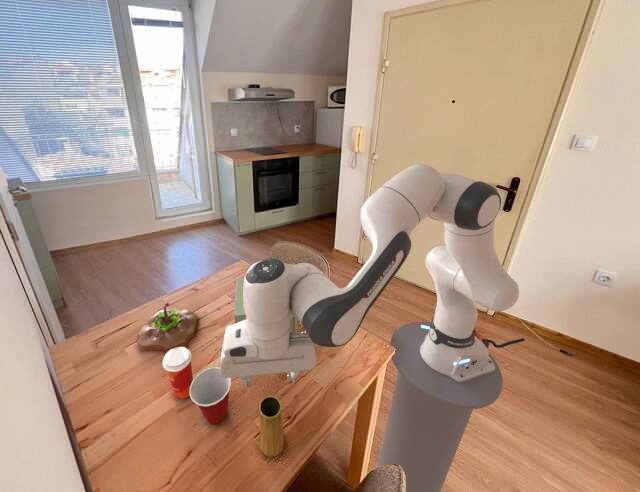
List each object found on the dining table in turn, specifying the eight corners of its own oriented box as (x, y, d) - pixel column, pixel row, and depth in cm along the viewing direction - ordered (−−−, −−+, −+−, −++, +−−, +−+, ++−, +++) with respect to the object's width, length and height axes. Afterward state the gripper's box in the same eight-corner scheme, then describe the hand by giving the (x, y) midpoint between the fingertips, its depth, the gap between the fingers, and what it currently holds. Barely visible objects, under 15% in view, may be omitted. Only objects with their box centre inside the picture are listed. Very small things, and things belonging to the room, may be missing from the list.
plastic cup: (192, 404, 83) (185, 374, 78) (229, 389, 87) (225, 360, 82) (198, 442, 74) (192, 411, 69) (239, 424, 78) (236, 394, 73)
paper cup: (170, 382, 89) (162, 349, 84) (196, 375, 91) (190, 342, 86) (169, 406, 82) (161, 371, 77) (197, 398, 84) (191, 364, 79)
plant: (204, 314, 117) (201, 291, 112) (185, 354, 99) (180, 328, 94) (157, 310, 119) (151, 288, 114) (129, 349, 101) (122, 324, 96)
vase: (262, 460, 70) (260, 423, 64) (257, 434, 76) (254, 397, 70) (286, 452, 72) (286, 415, 66) (280, 427, 77) (279, 391, 71)
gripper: (315, 320, 62) (312, 366, 68) (218, 327, 61) (224, 374, 66) (322, 343, 57) (318, 391, 62) (215, 352, 55) (221, 400, 61)
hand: (269, 382), depth 64 cm, fingers open, 8 cm apart
